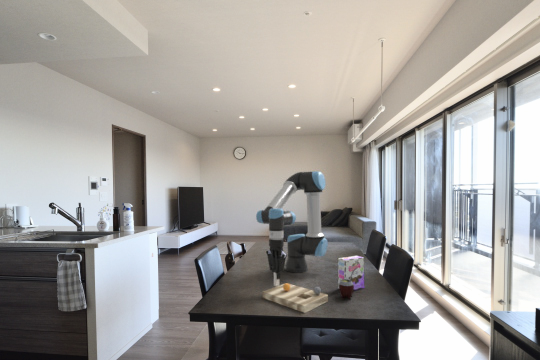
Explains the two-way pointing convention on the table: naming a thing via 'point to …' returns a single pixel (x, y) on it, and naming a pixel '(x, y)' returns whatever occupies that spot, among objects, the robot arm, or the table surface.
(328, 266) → the table surface
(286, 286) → the orange ball
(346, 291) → the mate gourd
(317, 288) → the grey ball
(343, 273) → the candy box
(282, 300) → the deck
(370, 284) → the table surface
